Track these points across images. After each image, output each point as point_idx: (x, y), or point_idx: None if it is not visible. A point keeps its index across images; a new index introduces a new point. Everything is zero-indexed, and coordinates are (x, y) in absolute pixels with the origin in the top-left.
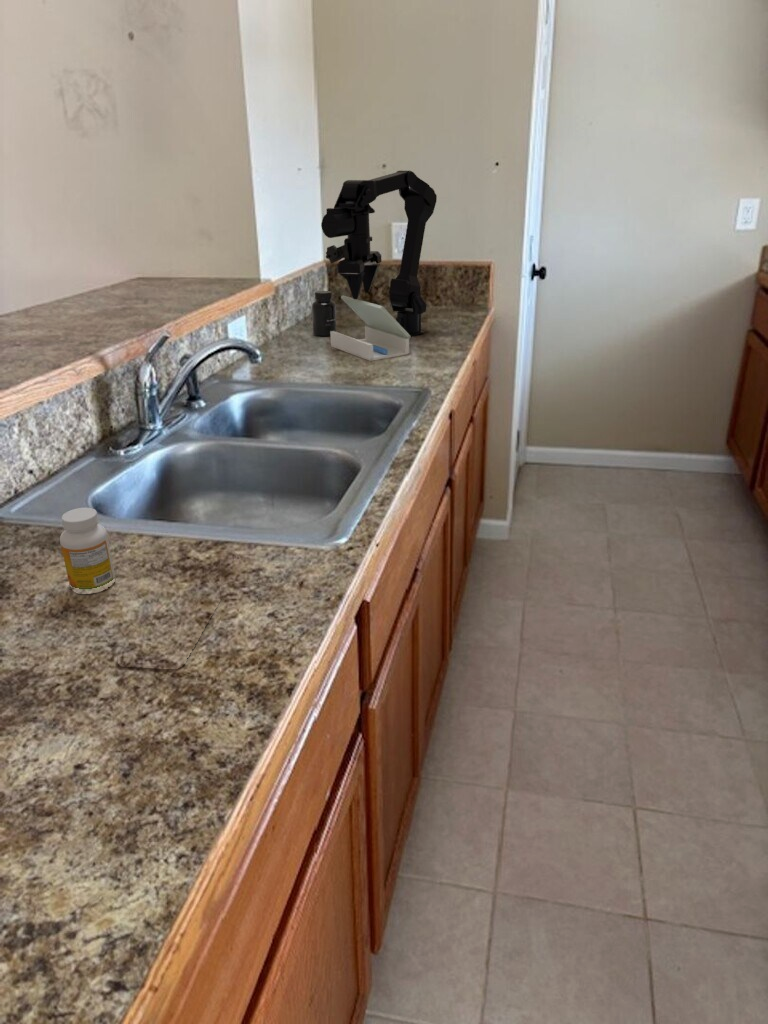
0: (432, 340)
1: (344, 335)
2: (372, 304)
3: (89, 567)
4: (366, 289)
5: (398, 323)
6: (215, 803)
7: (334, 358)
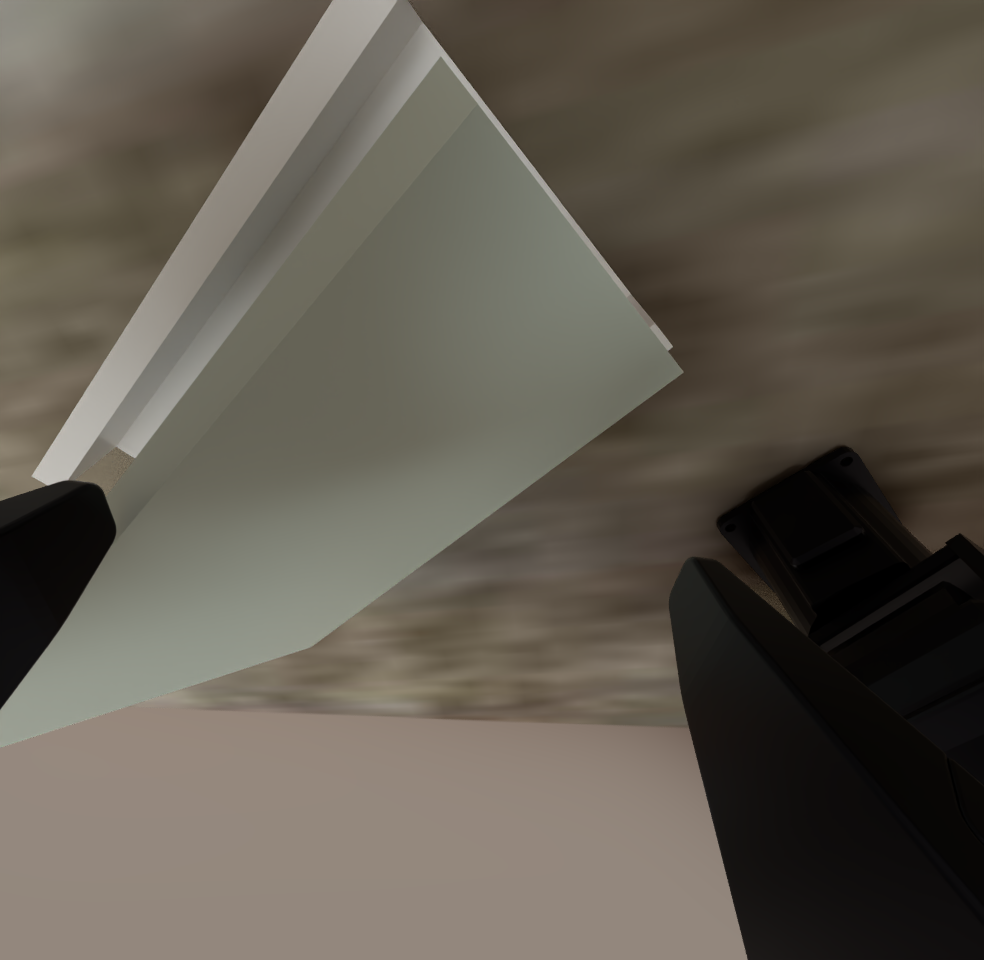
0: (621, 624)
1: (230, 208)
2: None
3: None
4: (692, 615)
5: (196, 682)
6: None
7: (23, 165)
